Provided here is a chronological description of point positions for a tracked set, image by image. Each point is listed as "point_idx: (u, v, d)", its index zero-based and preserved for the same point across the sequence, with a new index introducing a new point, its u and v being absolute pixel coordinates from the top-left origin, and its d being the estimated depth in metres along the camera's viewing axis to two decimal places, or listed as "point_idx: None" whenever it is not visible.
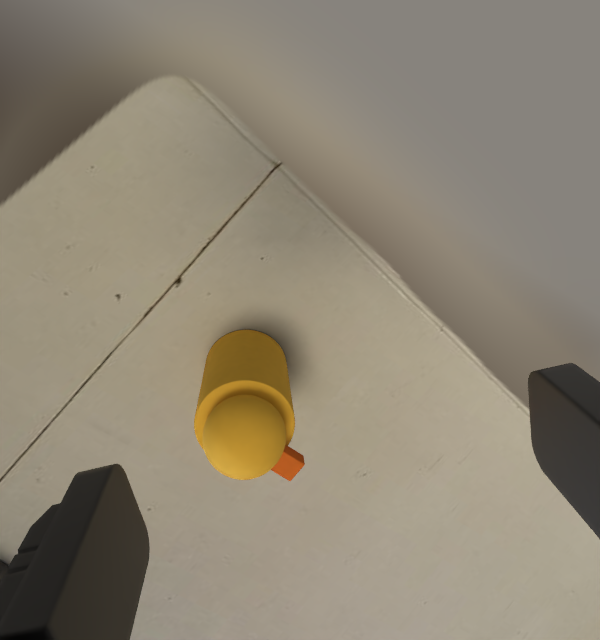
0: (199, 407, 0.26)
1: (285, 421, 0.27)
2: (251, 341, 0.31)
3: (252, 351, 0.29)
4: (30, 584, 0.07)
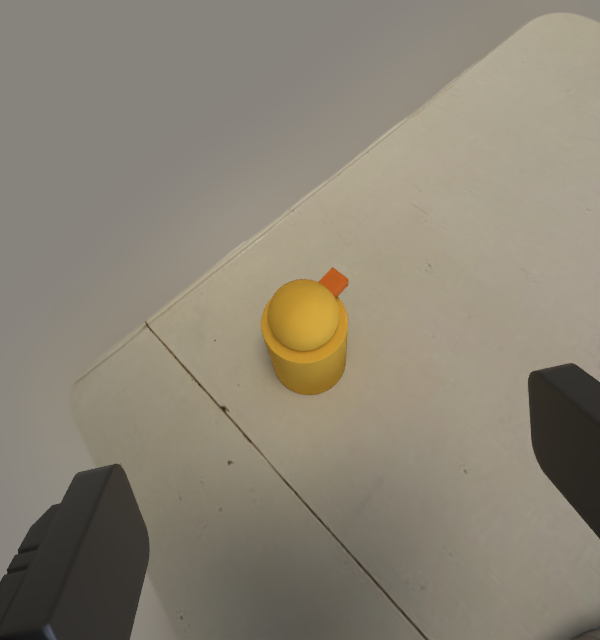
0: (282, 356, 0.30)
1: None
2: None
3: None
4: (30, 584, 0.07)
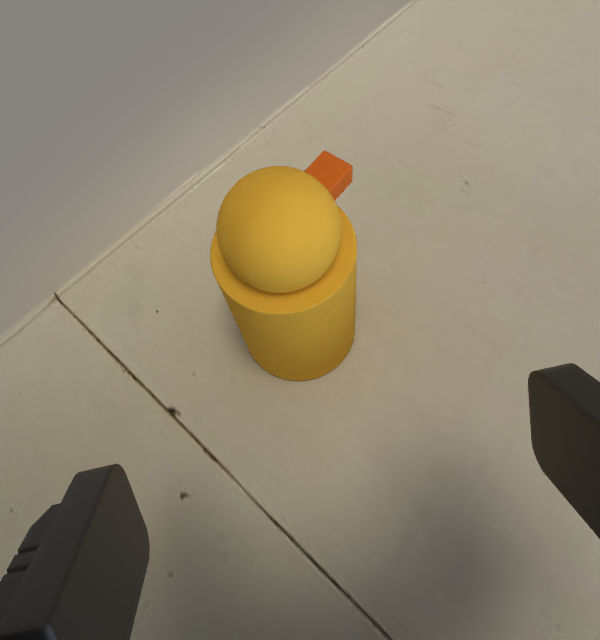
0: (247, 306, 0.17)
1: None
2: None
3: None
4: (30, 584, 0.07)
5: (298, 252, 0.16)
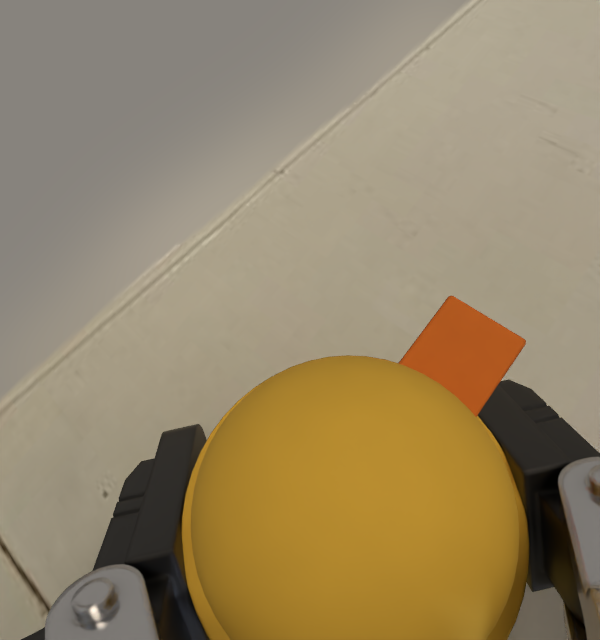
0: None
1: None
2: None
3: None
4: (147, 520, 0.08)
5: None
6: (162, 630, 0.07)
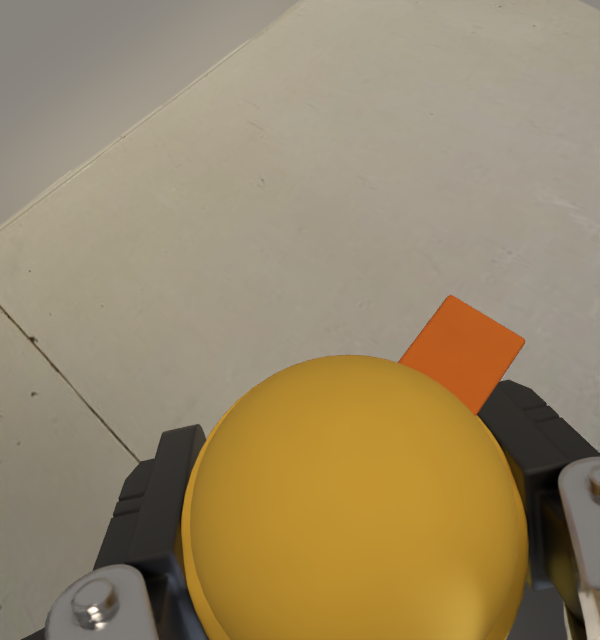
0: None
1: None
2: None
3: None
4: (147, 520, 0.08)
5: None
6: (162, 630, 0.07)
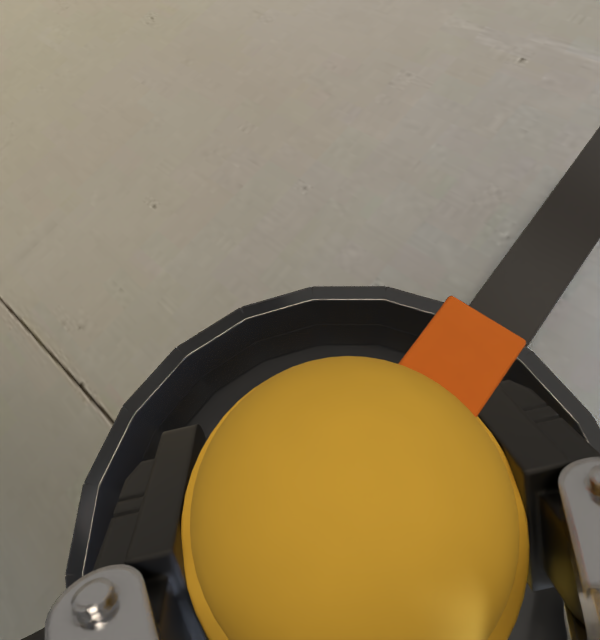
0: None
1: None
2: None
3: None
4: (146, 520, 0.08)
5: None
6: (162, 630, 0.07)
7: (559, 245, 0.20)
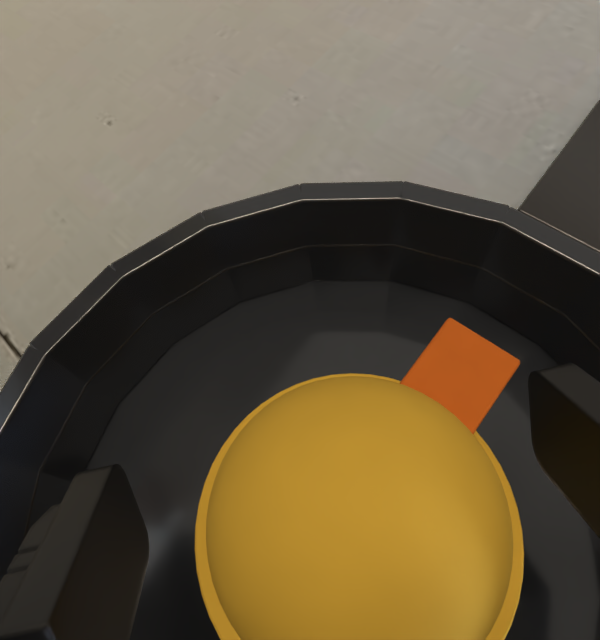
0: None
1: None
2: None
3: None
4: (30, 584, 0.07)
5: None
6: None
7: None
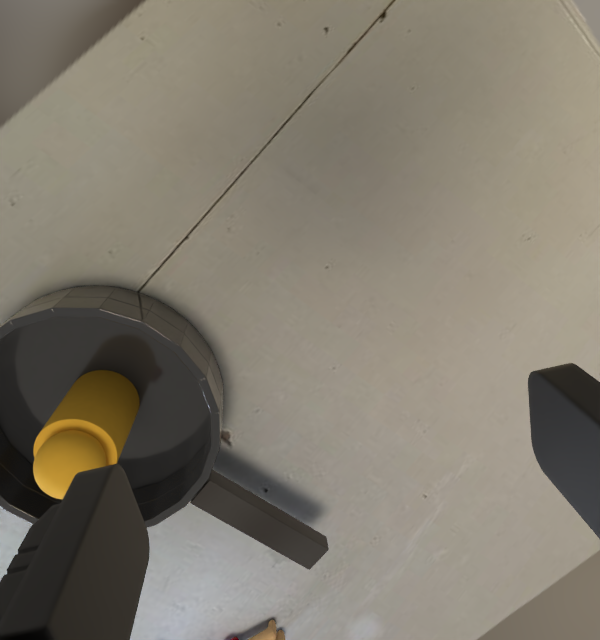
0: (36, 440, 0.33)
1: (108, 451, 0.33)
2: (98, 382, 0.37)
3: (95, 391, 0.36)
4: (30, 584, 0.07)
5: (39, 486, 0.31)
6: None
7: (246, 520, 0.39)
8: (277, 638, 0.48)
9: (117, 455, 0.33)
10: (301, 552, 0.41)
